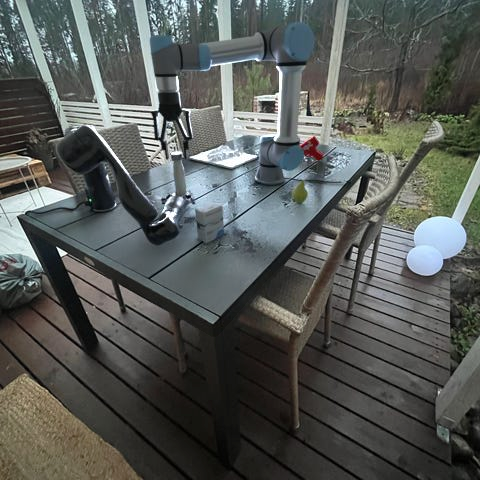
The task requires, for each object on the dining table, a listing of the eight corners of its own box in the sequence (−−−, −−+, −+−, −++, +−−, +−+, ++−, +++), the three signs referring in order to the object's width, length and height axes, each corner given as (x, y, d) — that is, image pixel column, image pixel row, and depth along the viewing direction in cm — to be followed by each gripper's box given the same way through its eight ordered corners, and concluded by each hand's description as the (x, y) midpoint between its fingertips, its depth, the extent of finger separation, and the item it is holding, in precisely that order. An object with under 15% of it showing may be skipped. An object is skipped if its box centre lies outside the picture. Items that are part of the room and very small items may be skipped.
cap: (176, 161, 103) (175, 155, 102) (169, 159, 106) (168, 153, 104) (184, 158, 106) (184, 153, 105) (178, 156, 108) (177, 151, 107)
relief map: (231, 168, 161) (231, 160, 158) (189, 159, 179) (189, 151, 176) (257, 158, 179) (257, 150, 176) (217, 150, 197) (216, 142, 194)
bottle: (183, 205, 120) (176, 152, 108) (190, 207, 118) (184, 154, 106) (176, 208, 117) (168, 155, 104) (183, 211, 115) (176, 156, 102)
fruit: (288, 200, 123) (290, 174, 116) (302, 197, 125) (305, 172, 119) (296, 206, 118) (299, 179, 111) (310, 203, 120) (314, 177, 114)
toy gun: (327, 155, 171) (314, 135, 167) (326, 157, 167) (314, 136, 164) (302, 170, 181) (290, 151, 177) (301, 172, 177) (288, 153, 174)
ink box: (215, 229, 101) (213, 200, 95) (224, 234, 98) (223, 205, 92) (197, 238, 96) (194, 208, 90) (206, 243, 93) (203, 213, 87)
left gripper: (192, 200, 100) (198, 183, 114) (153, 200, 100) (164, 183, 114) (194, 218, 104) (200, 199, 118) (156, 218, 104) (167, 199, 118)
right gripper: (197, 90, 97) (202, 155, 109) (142, 90, 96) (153, 156, 109) (195, 91, 90) (201, 160, 103) (136, 92, 90) (149, 161, 102)
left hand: (182, 191), depth 116 cm, fingers closed on bottle, 4 cm apart
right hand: (176, 158), depth 106 cm, fingers open, 7 cm apart
